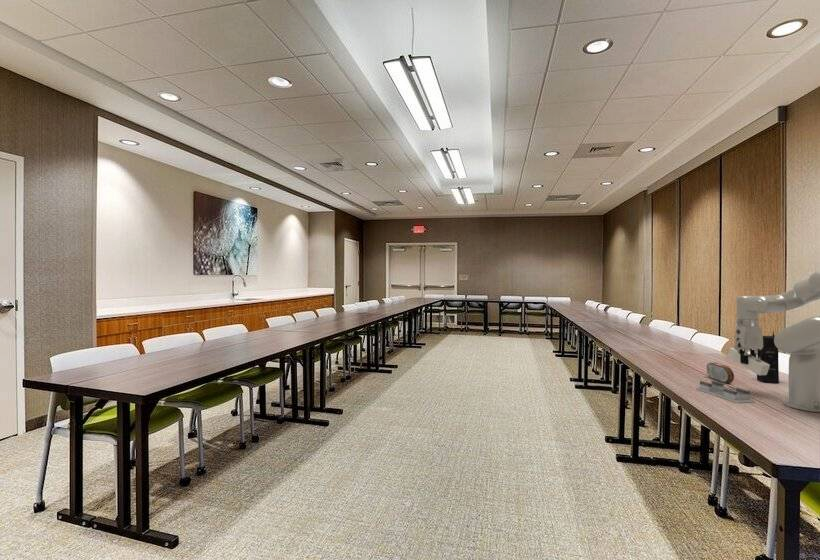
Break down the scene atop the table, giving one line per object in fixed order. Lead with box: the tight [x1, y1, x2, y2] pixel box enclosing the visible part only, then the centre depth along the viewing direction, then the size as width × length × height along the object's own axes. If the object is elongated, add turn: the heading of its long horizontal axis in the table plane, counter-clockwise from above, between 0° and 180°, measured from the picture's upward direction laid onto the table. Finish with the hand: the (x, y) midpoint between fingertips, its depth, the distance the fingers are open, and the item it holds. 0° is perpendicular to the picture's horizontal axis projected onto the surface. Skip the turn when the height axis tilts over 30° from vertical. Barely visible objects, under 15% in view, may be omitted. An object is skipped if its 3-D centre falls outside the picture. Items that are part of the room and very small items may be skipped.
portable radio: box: [756, 330, 780, 384], centre depth 194 cm, size 8×6×25 cm
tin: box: [706, 362, 735, 384], centre depth 196 cm, size 15×3×8 cm, turn 179°
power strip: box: [726, 347, 770, 375], centre depth 177 cm, size 16×4×5 cm, turn 7°
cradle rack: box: [695, 380, 755, 404], centre depth 172 cm, size 20×8×4 cm, turn 7°
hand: (748, 363), depth 176 cm, fingers closed on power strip, 3 cm apart
